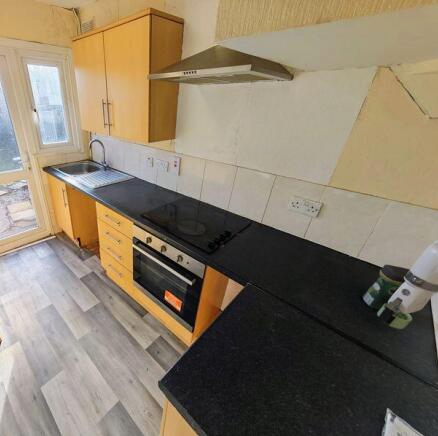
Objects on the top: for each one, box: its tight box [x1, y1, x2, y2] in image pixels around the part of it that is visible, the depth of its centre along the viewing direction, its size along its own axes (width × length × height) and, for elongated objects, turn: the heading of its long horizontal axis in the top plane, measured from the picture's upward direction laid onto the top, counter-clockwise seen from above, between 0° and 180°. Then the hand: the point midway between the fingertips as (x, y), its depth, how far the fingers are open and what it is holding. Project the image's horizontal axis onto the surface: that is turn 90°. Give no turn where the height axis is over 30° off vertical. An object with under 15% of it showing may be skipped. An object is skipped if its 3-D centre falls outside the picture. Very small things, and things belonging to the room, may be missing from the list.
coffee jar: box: [362, 264, 411, 311], centre depth 87 cm, size 10×8×19 cm
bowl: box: [376, 303, 413, 330], centre depth 78 cm, size 7×7×5 cm
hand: (391, 318), depth 79 cm, fingers closed on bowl, 7 cm apart
